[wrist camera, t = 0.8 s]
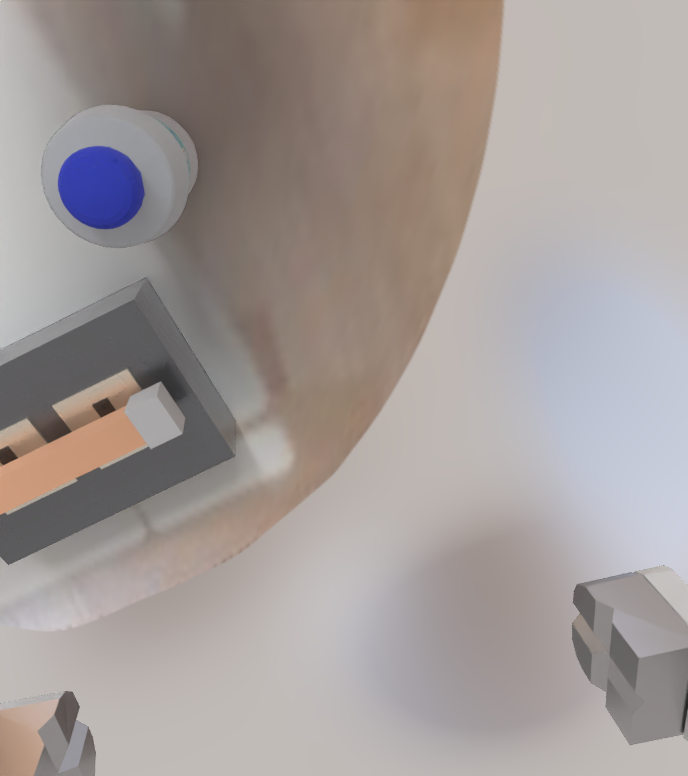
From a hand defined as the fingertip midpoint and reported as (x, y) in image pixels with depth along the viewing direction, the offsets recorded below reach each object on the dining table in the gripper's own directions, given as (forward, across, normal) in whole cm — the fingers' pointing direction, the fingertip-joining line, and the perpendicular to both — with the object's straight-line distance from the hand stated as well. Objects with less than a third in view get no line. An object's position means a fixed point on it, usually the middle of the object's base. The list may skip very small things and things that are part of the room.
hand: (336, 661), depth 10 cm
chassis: (+40, +17, +11) cm, 45 cm away
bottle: (+40, +7, -7) cm, 41 cm away
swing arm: (+33, +20, +12) cm, 40 cm away
